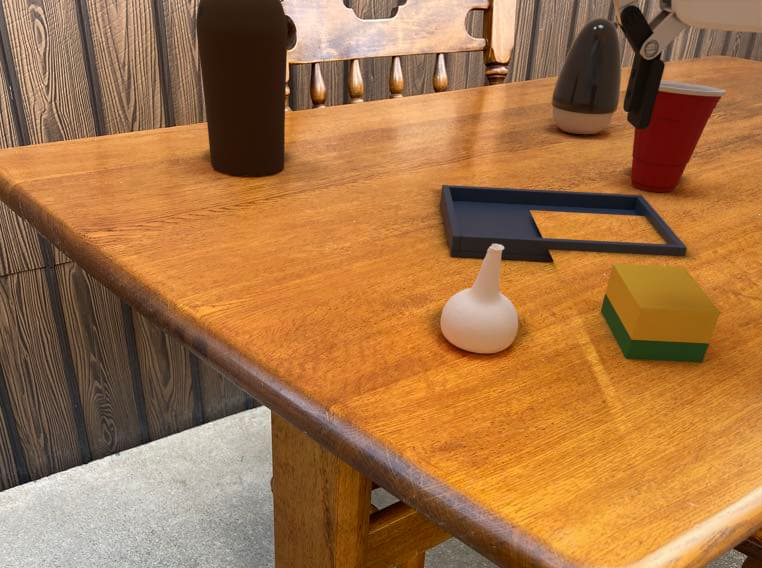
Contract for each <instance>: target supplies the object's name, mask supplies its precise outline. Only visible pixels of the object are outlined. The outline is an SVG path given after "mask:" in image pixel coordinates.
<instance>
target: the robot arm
mask: <svg viewBox="0 0 762 568" xmlns="http://www.w3.org/2000/svg"><path fill="white" fill-rule="evenodd" d="M612 2H613V7H614V9H615V20H616V23H617V24H618V27H619V28H620V29H621V32H622V34H623V35H624V37H625V38H626V41H627V42H628V43H629V45H630V49H631V51H632V52H633V53H634V58H633V61H632V65H631V68H630V69H631V70H630V73H629V78H628V82H627V87H626V90H625V95H624V99H623V105H622V107H623V111H624V112H625V113H627V115H626V121H627V122H628V123H629V124H630V125H631V126H632V127H634V129H635V128H636V129H644V130H645V128H646V127H647V128H648V127H649V125H650V121H651V117H652V113H653V109H654V106H655V102H656V98H657V94H658V90H659V86H660V83H661V80H663V74H664V71H665V66H666V64H665V62H664V60H662V59H661V57H662V53H663V52H664V50H665V49H666V48H667V47H668V46H669V45H670V44H671V43H672V42H673V41H674V40H675V39H676V38H677V37H678V36H679V35H680V34H682V32H683V31H684V30H685V29H686V28H687V27H688V26H689V27H693V28H696V29H702V30H713V31H728V32H743V33H758V34H762V0H658V7H659V10H658V11H657V12H655V14H654V15H653V16H652V17H651V18H650V19H649V20H648V21H647V19H646V17H645V15H644V13H643V12H642V10H641V9H640V5H639V0H612Z"/></svg>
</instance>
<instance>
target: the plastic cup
mask: <svg viewBox="0 0 762 568" xmlns="http://www.w3.org/2000/svg"><path fill="white" fill-rule="evenodd" d="M726 93H727V90H726V89H721V88H718V87H713V86H708V85H702V84H695V83H690V82H689V83H688V82H681V81H671V80H663V79H661V83H660V86H659V90H658V94H657V98H656V102H655V106H654V109H653V113H652V117H651V121H650V125H649V127H648V128H647V127H646V128H645V130H644V129H636V128H635V127H634V132H633V133H634V136H633V144H632V153H631V157H632V162H631V171H630V185H631V186H632V187H634V188H637V189H638V190H643V191H645V192H654V193H670V192H673V191H675V190H676V187H677V186H678V185H679V183H680V181H681V178H682V177H683V174H684V172H685V169H686V167H687V165H688V164H689V163H690V160H691V158H692V156H693V154H694V152H695V149H696V147H697V145H698V143H699V141H700V138H701V136H702V134H703V132H704V130H705V128H706V125H707V123H708V121H709V119H711V116H712V114H713V112H714V110H715V109H716V107H717V106H718V103H720V100H721V99H722V97H724V96H726Z"/></svg>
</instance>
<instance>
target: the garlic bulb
mask: <svg viewBox="0 0 762 568" xmlns="http://www.w3.org/2000/svg"><path fill="white" fill-rule="evenodd" d="M503 249H504V246H502V245H499V244H492V246H490V247H489V249H488V250H487V254H486V256H485V258H483V261H482V264H481V266H480V269H479V271H478V274H477V276H476V278H475V280H474V283H473V284H472V286H471V287H468V288H465V289H462V290H460V291H458V292H457V293H455V294H453V295H452V296H451V297H450V298H449V299H448V300H447V301H446V303H445V304H444V306H443V308H442V312H441V315H440V329H441V330H440V331H441V332H442V334H443V336H444V338H445V339H446V340H447V341H448V342H449V343H450V344H451V345H453V346H455V347H456V348H459V349H462V350H464V351H466V352H471V353H475V354H495V353H500V352H502V351H504V350H506V349H508V348H509V347H510V346H511V345H512V344H513V342H514V341H515V339H516V337H517V334H518V330H519V317H518V312H517V310H516V307H515V305H514V304H513V302H512V301H511V300H510V299H509V298H508V297H507V296H506V295H505V294H503V293H501V292H500V291H501V290H500V284H501V283H500V282H501V281H500V278H501V277H500V275H501V266H502V265H501V264H502V259H501V255H502V250H503Z"/></svg>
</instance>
